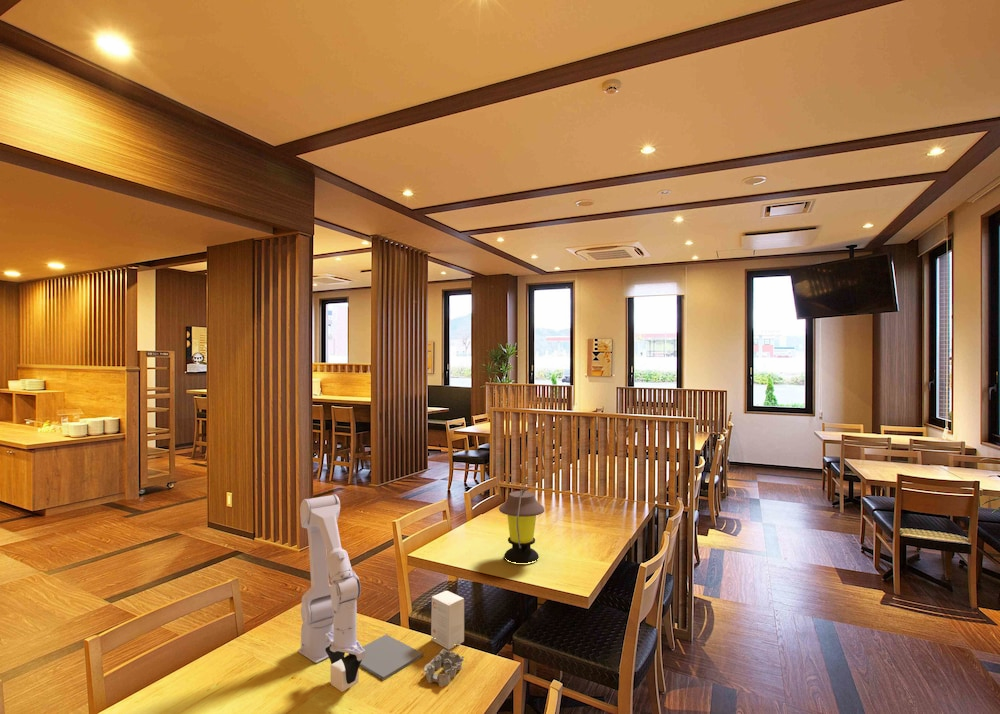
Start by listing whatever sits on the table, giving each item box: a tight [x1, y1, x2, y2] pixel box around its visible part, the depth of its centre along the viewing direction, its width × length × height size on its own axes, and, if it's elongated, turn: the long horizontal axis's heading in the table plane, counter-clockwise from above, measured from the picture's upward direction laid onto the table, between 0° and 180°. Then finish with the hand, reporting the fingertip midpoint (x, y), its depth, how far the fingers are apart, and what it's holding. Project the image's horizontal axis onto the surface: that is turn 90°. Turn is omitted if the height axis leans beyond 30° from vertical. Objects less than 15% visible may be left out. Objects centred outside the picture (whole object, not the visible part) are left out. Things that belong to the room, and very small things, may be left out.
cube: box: [330, 659, 360, 692], centre depth 132 cm, size 5×5×5 cm
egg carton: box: [423, 648, 465, 687], centre depth 137 cm, size 11×8×4 cm
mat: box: [346, 634, 424, 681], centre depth 144 cm, size 16×14×1 cm
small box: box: [430, 590, 465, 651], centre depth 153 cm, size 8×6×13 cm
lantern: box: [498, 484, 545, 563], centre depth 217 cm, size 25×19×30 cm
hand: (344, 677), depth 132 cm, fingers closed on cube, 5 cm apart
